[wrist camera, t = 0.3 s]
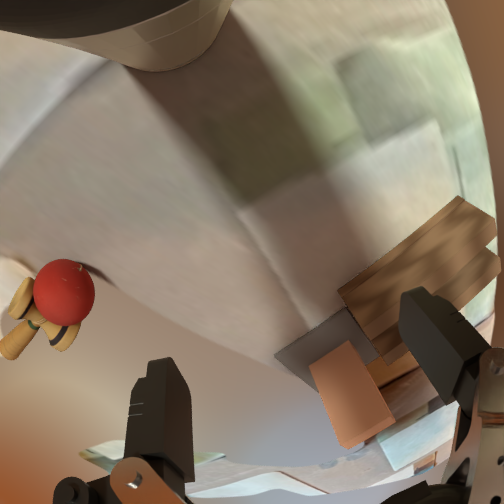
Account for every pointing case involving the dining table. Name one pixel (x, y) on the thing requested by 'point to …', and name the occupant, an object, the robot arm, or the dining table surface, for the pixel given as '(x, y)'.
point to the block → (350, 396)
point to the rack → (424, 272)
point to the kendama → (50, 306)
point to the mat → (325, 345)
